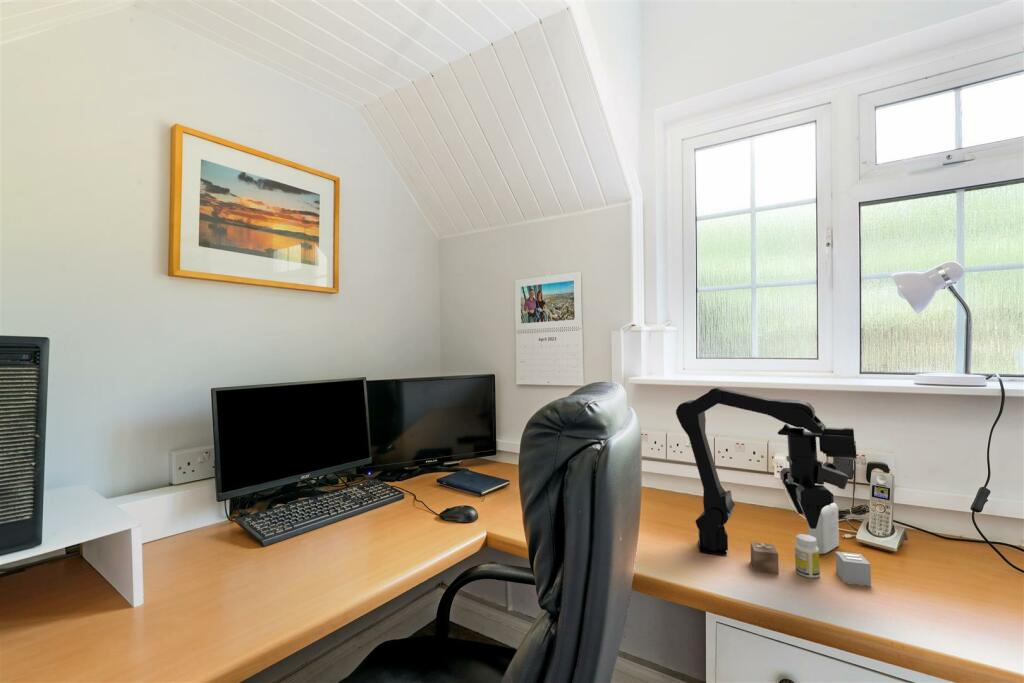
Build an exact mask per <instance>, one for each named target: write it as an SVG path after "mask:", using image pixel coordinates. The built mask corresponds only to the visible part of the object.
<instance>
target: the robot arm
mask: <svg viewBox="0 0 1024 683" xmlns="http://www.w3.org/2000/svg"><path fill="white" fill-rule="evenodd" d="M719 404H720V405H723V406H728V407H732V408H736V409H741V410H743V411H744V410H745V411H749V412H754V413H758V414H763V415H767V416H768V417H772V418H773V419H776V420H778V421H780V422H782V423H784V425H783V427H782V428H780V429H779V430H778V431H777V435H778V436H779V435H780V436H787V449H788V450H787V451H788V452H787V453H788V455H786V456H785V457H786V461H787V462H788V467H783V468H782V469H781V470H780V471H779V473H780V474H779V475H780V476H779V477H780V480H781V481H782V482H781V483H782V484H783V485H784V488H785V490H786V492H787V494H788V496H789V498H790V500H791V501H792V504H793V506H794V508H795V510H796V512H797V514H799V515H804V518H805V519H806V522H807V525H808V524H809V526H810V528H811V529H816V527H817V524H818V520H819V517H820V513H821V510H822V508H823V507H825V506H827V505H830V504H831V503H835V501H834V493H833V492H831V491H830V490H829V489H828V488H827V487H825V486H824V485H825V483H826V484H829V485H831V486H834V487H837V488H838V489H841V490H845V489H846V486H847V483H848V481H849V478H850V476H849V475H847V474H846V473H845V472H842V471H840V470H838V469H837V466H836V464H834V463H832V462H829V461H826V462H824V463H823V464H822V462H821V461H820V460H819V459H818V448H817V438H818V440H819V442H818V443H819V445H818V446H819V452H820V453H822V454H823V455H825V457H827V458H838V459H840V458H841V459H849V460H857V458H858V457H857V444H856V440H855V432H854V431H855V429H854V428H853V427H826V425H825V424H824V422H822V421H821V419H819V417H818V416H817V415H816V410H815V408H814V406H813V405H812V404H811V403H810V402H808V401H806V400H802V399H800V400H799V399H781V398H780V399H776V398H775V399H773V398H769V397H763V396H758V395H755V394H754V395H753V394H749V393H744V392H739V391H735V390H731V389H725V388H723V387H720V386H718V387H714V388H711V389H710V390H709V391H708V392H706V393H705V394H703V395H701V396H699V397H698V398H696V399H689V400H686V401H684V402H682V403H680V404H679V405H678V406H677V408H676V410H675V414H676V415H675V416H676V418H677V419H678V422H679V424H680V426H681V428H682V429H683V431H684V433H685V434H686V435H687V437H688V440H689V442H690V446H691V450H692V454H693V457H694V460H695V463H696V467H697V468H696V469H697V470H698V474H699V477H700V482H701V484H702V488H703V494H702V495H703V497H702V502H703V503H702V504H703V511H702V512H701V513H700V515H699V516H698V517H697V518H696V519H695V524H696V527H697V529H698V535H697V536H698V540H697V546H698V551H699V553H703V554H712V555H719V556H727V551H728V549H729V548H728V547H729V545H728V544H729V540H728V536H729V535H728V533H727V530H726V528H725V525H726V523H727V522H728V521H729V520H730V518H731V517H732V515H733V514H734V508H735V506H736V504H735V502H734V500H733V498H732V491H731V490H729V489H728V490H725V489H724V487H723V486H722V484H721V482H720V478H719V475H718V472H717V468H716V464H715V462H714V458H713V454H712V452H711V448H710V444H709V440H708V437H707V434H706V422H707V421H706V411H708V410H710V409H711V408H713V407H715V406H716V405H719ZM791 426H792V427H791Z"/></svg>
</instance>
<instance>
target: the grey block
mask: <svg viewBox="0 0 1024 683" xmlns="http://www.w3.org/2000/svg"><path fill="white" fill-rule="evenodd" d="M871 568H872V567H871V563H870V562H869V561H868V560H867V559H866V558H865V556H863V554H861V553H854V552H845V551H835V573H836V572H837V573H836V574H837V576H838V577H839V578H840V579H841V581H842V580H843V581H842V582H843V584H847V583H850V584H849V585H855V584H858V585H857V586H863V585H867V586H866V587H872V580H871V579H872V573H871V572H872V570H871Z"/></svg>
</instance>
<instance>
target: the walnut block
mask: <svg viewBox="0 0 1024 683" xmlns="http://www.w3.org/2000/svg"><path fill="white" fill-rule="evenodd" d="M749 545H750V563H751V565H752V569H753V571H754V572H757V573H763V574H771V575H779V574H780V572H779V571H780V568H779V566H780V565H779V552H778V550H777V548H776V547H775V545H774V544H771V543H765V542H764V543H763V542H755V541H750V544H749Z"/></svg>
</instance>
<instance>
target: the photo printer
mask: <svg viewBox="0 0 1024 683" xmlns="http://www.w3.org/2000/svg"><path fill="white" fill-rule="evenodd" d="M839 528H840V527H839V508H838V505H837V503H835V502H834V503H831V504H830V505H827V506H825V507H823V508H822V510H821V513H820V517H819V520H818V524H817V527H816V529H811V528H810V526H809V524H808V523H807V535H810V536H813V537H815V538H816V540H817V547H818V549H819V555H822V554H827V553H829V552H830V551H832V550H834V549H835V548H837V547H838V546H839V545H840V544H839V543H840V532H839Z"/></svg>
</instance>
